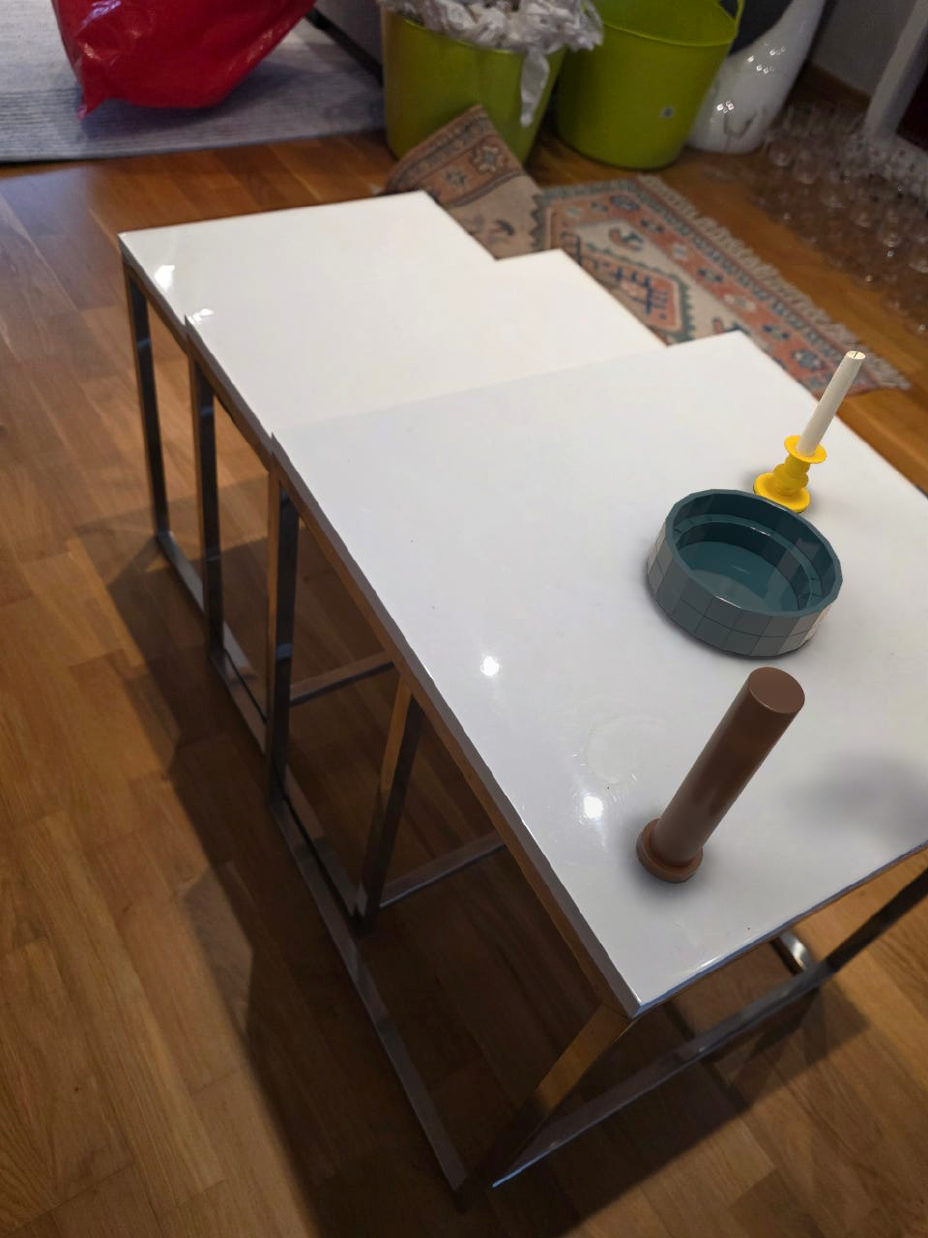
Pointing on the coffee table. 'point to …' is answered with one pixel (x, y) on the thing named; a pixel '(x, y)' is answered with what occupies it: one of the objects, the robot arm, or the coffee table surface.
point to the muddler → (720, 773)
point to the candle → (808, 443)
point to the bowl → (743, 572)
